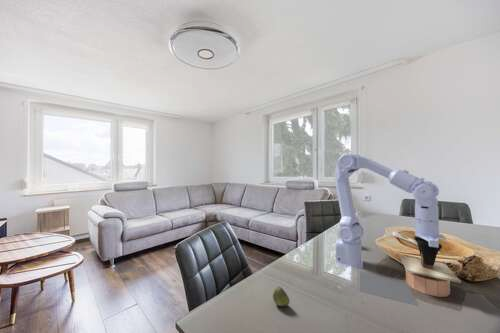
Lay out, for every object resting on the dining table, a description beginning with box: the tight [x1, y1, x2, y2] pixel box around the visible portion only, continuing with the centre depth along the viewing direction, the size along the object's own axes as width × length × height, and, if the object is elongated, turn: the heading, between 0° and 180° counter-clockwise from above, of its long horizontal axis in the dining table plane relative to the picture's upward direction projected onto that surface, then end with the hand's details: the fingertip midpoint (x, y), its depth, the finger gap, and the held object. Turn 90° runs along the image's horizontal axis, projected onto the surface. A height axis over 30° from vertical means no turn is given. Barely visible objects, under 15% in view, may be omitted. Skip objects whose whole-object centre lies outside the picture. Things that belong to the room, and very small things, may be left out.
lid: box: [400, 252, 462, 284], centre depth 64 cm, size 12×12×5 cm
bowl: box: [405, 270, 451, 298], centre depth 64 cm, size 10×10×5 cm
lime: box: [272, 285, 290, 307], centre depth 56 cm, size 4×5×5 cm
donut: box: [336, 224, 341, 239], centre depth 103 cm, size 10×3×10 cm, turn 16°
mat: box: [359, 270, 418, 306], centre depth 65 cm, size 14×14×1 cm
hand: (427, 262), depth 64 cm, fingers closed on lid, 2 cm apart
